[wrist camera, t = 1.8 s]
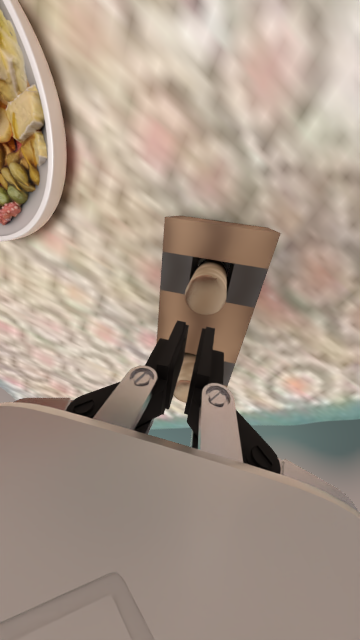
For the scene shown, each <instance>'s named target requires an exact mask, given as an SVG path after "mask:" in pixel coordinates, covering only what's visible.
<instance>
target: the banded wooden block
mask: <svg viewBox="0 0 360 640" xmlns="http://www.w3.org/2000/svg"><path fill="white" fill-rule="evenodd" d="M279 236H280V233H279V232H276V231H274V230H271V229H269V228H266V227H258V226H251V225H244V224H237V223H229V222H222V221H215V220H208V219H200V218H193V217H186V216H171V217H165V224H164V239H163V255H162V270H161V286H160V301H159V317H158V332H157V342H158V340H159V339H160V338H163V339H167V340H168V339H169V337H170V335H171V333H172V330H173V328H174V326H175V324H176V322H177V320H178V321H183V322H186V325H189V329H188V335H187V341H186V347H185V352H186V353H191V354H195V355H196V354H197V350H198V345H199V341H200V336H201V332H202V328H205V329H206V327H211V328H215V334H214V343H213V350H216V351H221V352H224V376H223V386H225V387H227V386H228V383H229V380H230V377H231V374H232V371H233V368H234V366H235V363H236V360H237V357H238V354H239V351H240V348H241V345H242V343H243V340H244V337H245V334H246V331H247V328H248V325H249V322H250V320H251V317H252V314H253V311H254V308H255V305H256V302H257V299H258V297H259V294H260V291H261V288H262V285H263V282H264V279H265V276H266V274H267V271H268V268H269V265H270V262H271V259H272V256H273V253H274V250H275V248H276V245H277V242H278V239H279ZM199 258H205V259H211V260H217V261H223V262H229V263H230V266H229V270H228V274H227V295H226V302H225V304H224V306H223V307H222V308H221V309H220V310H219V311H218V312H216V313H214V314H211V315H201V314H198V313H196V312H194V311H193V310H192V309H190V307H189V306H188V305H187V303H186V300H185V290H186V288H187V286H188V284H189V282H190V280H191V278H192V277H193V275H194V273H195V271H196V269H197V267H198V262H199Z"/></svg>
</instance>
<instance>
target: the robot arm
mask: <svg viewBox="0 0 360 640" xmlns="http://www.w3.org/2000/svg"><path fill="white" fill-rule="evenodd" d="M188 329H189V325H186V322H183V321H178V320H177V322H176V324H175V326H174V328H173V330H172V333H171V335H170V337H169V339H168V340H167V339H163V338H160V339H159V340H158V342H157V344H156V346H155V348H154V350H153V352H152V353H151V355H150V357H149V359H148V361H147V363H146V365H145V366H137V367H134V368H132V369H131V370H130V371H129V372H128V373H127V374H126V376H125V377H124V378H123V379H122V381H121V382H118V383H116V384H113V385H110V386H107V387H105V388H102V389H99V390H96V391H93V392H91V393H88V394H85V395H82V396H80V397H78V398H76V399H75V400H70V398H23V399H19V400H17V401H14V402H6V403H0V640H360V512H359V511H358V510H357V508H356V507H355V505H354V504H353V502H352V501H351V500H350V499H349V498H348V497H347V496H346V494H344V493H343V492H342V491H340V490H339V489H337V488H336V487H334V486H332V485H331V484H329V483H327V482H325V481H324V480H322V479H320V478H318V477H316V476H315V475H313V474H311V473H309V472H308V471H306V470H304V469H302V468H301V467H299V466H297V465H295V464H293V463H292V462H290V461H288V460H286V459H284V460H281V459H279V458H278V457H277V455H276V454H275V452H274V451H273V450H272V448H271V447H270V446H269V445H268V444H267V443H266V442H265V441H264V440H263V439H262V438H261V436H259V434H258V433H257V432H256V431H255V430H254V429H253V428H252V427H251V426H250V425H249V423H248V422H247V421H246V420H245V419H244V418H243V417H242V416H241V415H240V414H239V413H238V411H237V410H236V409H235V402H234V397H233V394H232V393H231V391H230V390H229V389H228V388H227V387H225V386H223V376H224V352H221V351H216V350H213V343H214V334H215V328H211V327H206V329H205V328H202V332H201V336H200V341H199V345H198V350H197V354H196V359H195V363H194V368H193V373H192V377H191V382H190V387H189V392H188V397H187V402H186V407H185V412H184V414H188V418H187V423H188V424H189V426H190V427H191V429H192V435H191V447H188V446H185V445H181V444H178V443H175V442H171V441H168V440H165V439H161V438H158V437H154V436H151V435H148V433H149V430H150V428H151V426H152V424H153V421H154V418H156V417H158V416H160V415H161V414H164V411H165V408H166V409H169V407H170V404H171V401H172V397H173V394H174V391H175V387H176V384H177V380H178V377H179V374H180V370H181V367H182V364H183V359H184V353H185V347H186V341H187V335H188Z"/></svg>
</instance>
